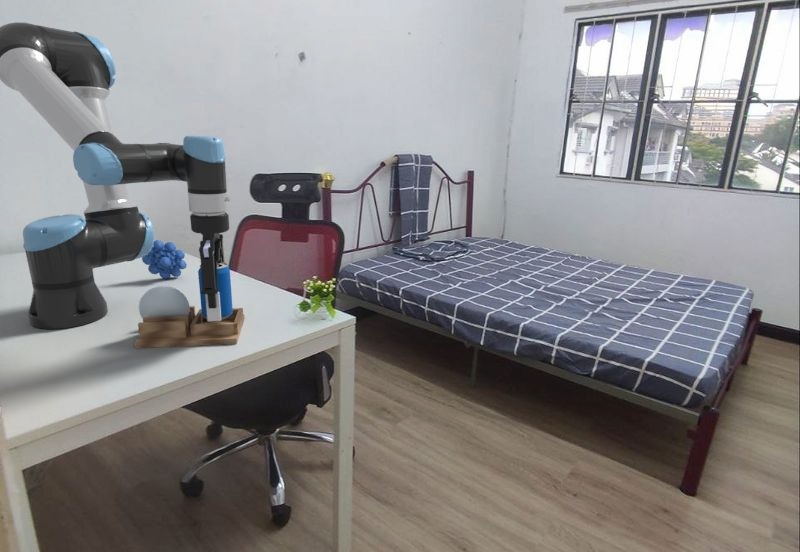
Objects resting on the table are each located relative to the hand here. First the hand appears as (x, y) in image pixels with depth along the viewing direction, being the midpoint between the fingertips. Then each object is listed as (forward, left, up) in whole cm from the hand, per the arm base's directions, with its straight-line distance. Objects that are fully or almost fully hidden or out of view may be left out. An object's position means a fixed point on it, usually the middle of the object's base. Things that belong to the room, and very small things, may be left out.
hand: (217, 314), depth 104 cm
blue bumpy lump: (-21, +40, -4) cm, 45 cm away
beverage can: (0, 0, -1) cm, 1 cm away
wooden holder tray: (-5, 0, -4) cm, 7 cm away
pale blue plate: (-11, -1, -3) cm, 11 cm away
